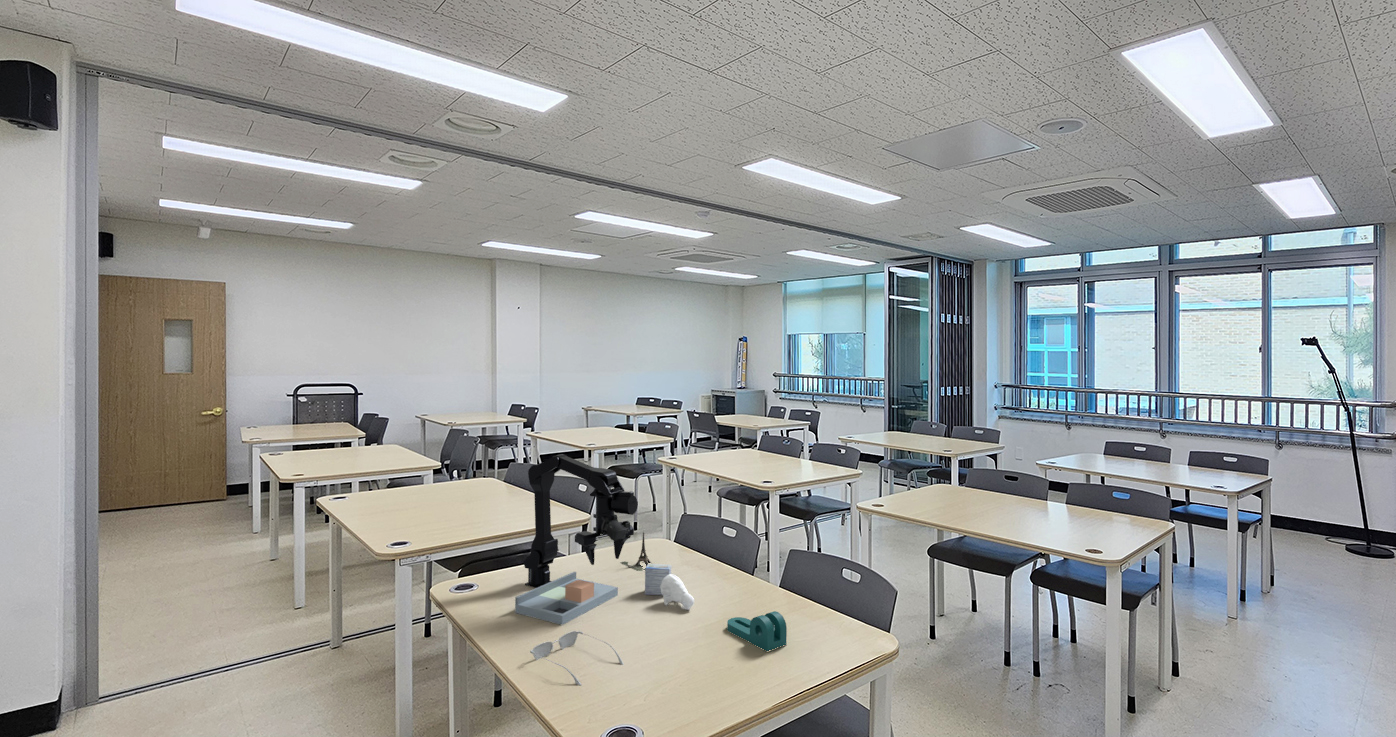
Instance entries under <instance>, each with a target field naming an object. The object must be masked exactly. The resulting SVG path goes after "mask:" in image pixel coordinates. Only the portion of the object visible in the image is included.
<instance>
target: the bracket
mask: <svg viewBox="0 0 1396 737" xmlns="http://www.w3.org/2000/svg"><path fill="white" fill-rule="evenodd" d="M726 627H727V628H726V629H727V630H726V631H727V632H729V633H730V632H731V633H730V634H732V633H733V634H732V635H734V634H735V635H734V636H736V635H737V636H736V637H738V636H739V637H738V638H740V637H741V638H743V639H745V640H747V641H749V642H751V643H752V644H751V643H750V644H751V645H753V644H754V645H753V646H755V645H756V646H755V647H757V646H758V647H760V648H762V649H764V650H766V651H769V650H772V649H775V648H777V647H780V646H783V645H786V646H787V635H788V634H787V633H788V631H787V630H788V628H787V623H786V620H785V618H784V616H783V614H781V613H780V612H779V611H777V610H774V611H771V612H768V613H766V614H762V615H759V616H758V615H757V616H754V617H752V619H749V618H747V617H739V616H738V617H737V616H736V617H731V618H728V619H727V626H726ZM741 638H740V639H741ZM743 639H742V640H743ZM745 640H744V641H745ZM747 641H746V642H747ZM749 642H748V643H749ZM758 647H757V648H758ZM760 648H759V649H760ZM762 649H761V650H762ZM764 650H763V651H764ZM775 650H776V649H775ZM766 651H765V652H766Z"/></svg>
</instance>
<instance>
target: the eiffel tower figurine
mask: <svg viewBox="0 0 1396 737" xmlns="http://www.w3.org/2000/svg"><path fill="white" fill-rule="evenodd" d="M640 562H643V563H645V564H646V566H647V565H648V563H651V564H652V561H650V559H649V557H648V555H647V553H646V544H645V532H644V530H643V532H642V542H641V550H640V555H639V557H638V560H637V562H636V563H635V565H629V561H620V562H619V563H620V564H623V566H627V567H629V568H631V569H633V570H635V571H636V572H644V571H643V570H645V569H643V568H642V567H643V566H641V565H640Z"/></svg>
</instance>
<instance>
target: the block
mask: <svg viewBox="0 0 1396 737" xmlns="http://www.w3.org/2000/svg"><path fill="white" fill-rule="evenodd" d="M582 580H583V579H582ZM582 580H576V581H574V582H572V583H570V584H568V585H565V599H568V600H572V601H576V602H581V603H582V602H584V601H586V600H587V599H589V598H591V597H593V596H594V583H592V582H593V581H591V582H587V581H588V580H586V581H582Z"/></svg>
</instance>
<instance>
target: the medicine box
mask: <svg viewBox="0 0 1396 737" xmlns="http://www.w3.org/2000/svg"><path fill="white" fill-rule="evenodd" d="M669 574H672V564H664V563H663V564H662V563H661V564H660V563H651V564H648V565H647V566H646V568H645V571H644V595H645V596H646V595H647V596H648V595H650V596H663V594H662V593H661V588H660V585H661V584H662V580H663V579H664V577H666V576H667V575H669Z"/></svg>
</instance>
